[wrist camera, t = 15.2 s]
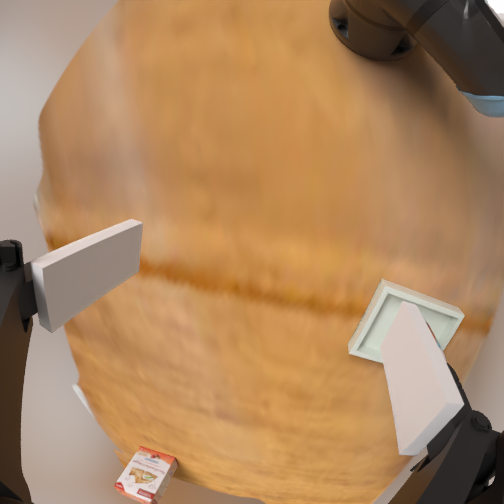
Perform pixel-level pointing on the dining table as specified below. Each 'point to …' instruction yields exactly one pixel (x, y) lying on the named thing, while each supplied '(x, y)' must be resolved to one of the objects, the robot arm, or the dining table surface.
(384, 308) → the tray
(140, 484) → the cracker box
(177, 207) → the dining table surface
